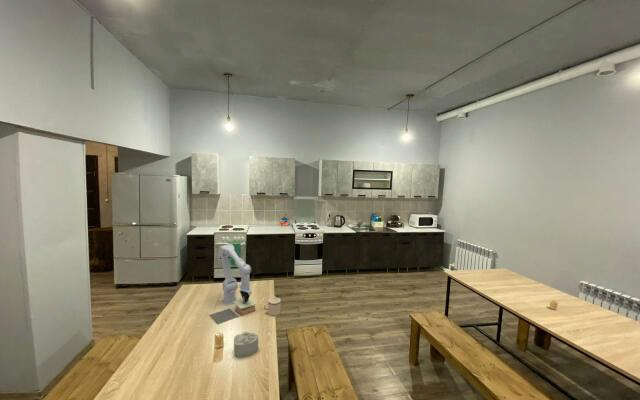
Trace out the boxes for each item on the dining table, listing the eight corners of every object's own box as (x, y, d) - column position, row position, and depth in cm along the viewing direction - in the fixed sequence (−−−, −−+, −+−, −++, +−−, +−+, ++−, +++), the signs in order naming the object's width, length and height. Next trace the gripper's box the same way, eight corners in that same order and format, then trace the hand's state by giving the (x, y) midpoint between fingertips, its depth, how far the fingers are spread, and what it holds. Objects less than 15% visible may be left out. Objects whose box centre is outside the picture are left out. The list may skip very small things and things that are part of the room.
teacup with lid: (280, 308, 198) (280, 293, 197) (281, 315, 189) (281, 299, 188) (263, 310, 195) (263, 294, 194) (263, 317, 186) (263, 300, 185)
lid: (232, 302, 194) (233, 295, 193) (247, 299, 202) (248, 292, 202) (240, 309, 185) (241, 301, 185) (256, 305, 193) (256, 297, 193)
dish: (235, 310, 195) (235, 305, 194) (248, 306, 201) (248, 300, 201) (242, 316, 187) (242, 310, 187) (255, 311, 194) (255, 306, 194)
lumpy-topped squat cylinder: (233, 346, 155) (233, 332, 154) (257, 342, 159) (257, 328, 158) (234, 358, 145) (234, 343, 144) (259, 353, 149) (259, 339, 148)
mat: (208, 315, 186) (208, 315, 186) (229, 308, 196) (229, 308, 196) (217, 325, 175) (217, 324, 175) (239, 317, 185) (239, 316, 185)
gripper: (235, 280, 195) (235, 298, 196) (245, 287, 184) (245, 306, 186) (244, 278, 200) (244, 295, 201) (254, 284, 189) (254, 303, 190)
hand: (245, 300), depth 194 cm, fingers closed on lid, 3 cm apart
